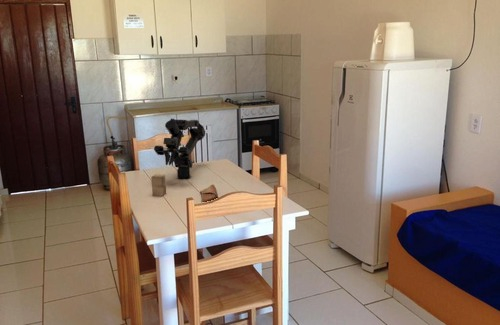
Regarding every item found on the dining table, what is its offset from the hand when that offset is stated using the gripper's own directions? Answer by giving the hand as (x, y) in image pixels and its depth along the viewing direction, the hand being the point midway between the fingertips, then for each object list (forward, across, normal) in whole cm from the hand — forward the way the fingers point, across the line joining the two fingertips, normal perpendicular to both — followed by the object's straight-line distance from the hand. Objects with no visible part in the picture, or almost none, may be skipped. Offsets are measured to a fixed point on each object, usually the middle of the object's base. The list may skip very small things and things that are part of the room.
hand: (167, 164), depth 229 cm
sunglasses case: (+15, +25, +4) cm, 30 cm away
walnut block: (+17, 0, +1) cm, 17 cm away
